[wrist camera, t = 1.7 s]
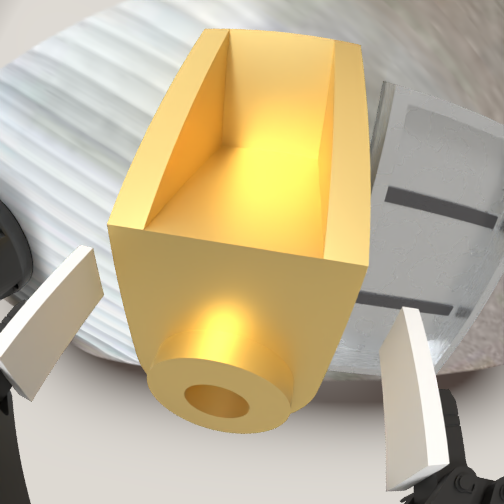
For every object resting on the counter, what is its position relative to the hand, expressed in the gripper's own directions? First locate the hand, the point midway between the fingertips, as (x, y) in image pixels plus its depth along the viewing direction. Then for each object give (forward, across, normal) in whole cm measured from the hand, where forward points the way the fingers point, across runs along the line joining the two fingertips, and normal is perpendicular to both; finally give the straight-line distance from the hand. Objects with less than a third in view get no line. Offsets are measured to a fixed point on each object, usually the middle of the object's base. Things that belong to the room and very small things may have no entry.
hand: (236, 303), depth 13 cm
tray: (+14, +13, -4) cm, 20 cm away
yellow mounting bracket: (+14, 0, +1) cm, 14 cm away
